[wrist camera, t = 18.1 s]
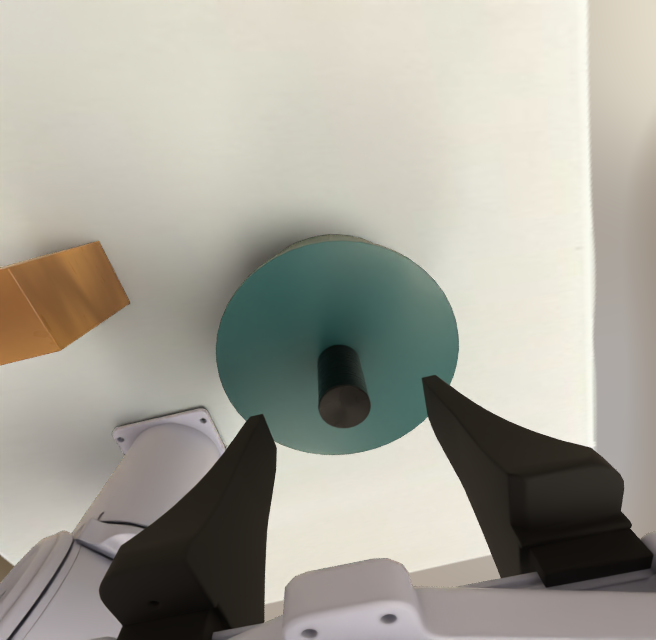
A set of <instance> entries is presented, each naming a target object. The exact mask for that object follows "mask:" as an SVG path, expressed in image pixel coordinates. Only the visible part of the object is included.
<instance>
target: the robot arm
mask: <svg viewBox="0 0 656 640" xmlns="http://www.w3.org/2000/svg"><path fill="white" fill-rule="evenodd" d="M422 384H423V391H424V397H425V403H426V410H427V415H428V418H429V420H430V423H431V426H432V428H433V430H434V433H435V435H436V437H437V439H438V441H439V443H440V445H441V446H442V448H443V450H444V452H445V454H446V456H447V457H448V459H449V461H450V463H451V465H452V467H453V468H454V470H455V472H456V474H457V476H458V477H459V479H460V481H461V483H462V485H463V487H464V489H465V492H466V494H467V496H468V499H469V501H470V503H471V506H472V508H473V510H474V513H475V515H476V517H477V520H478V522H479V525H480V527H481V529H482V532H483V534H484V537H485V539H486V542H487V544H488V547H489V549H490V552H491V554H492V557H493V559H494V562H495V564H496V566H497V569H498V572H499V574H500V577H501V578H500V579H495V580H490V581H484V582H479V583H474V584H468V585H464V586H458V587H423V586H412V584H411V580H410V576H409V572H408V571H407V570H406V568H405V567H404V566H403V564H401V563H399V562H396V561H394V560H391V559H388V558H382V559H369V560H364V561H359V562H354V563H349V564H344V565H339V566H334V567H329V568H323V569H318V570H313V571H308V572H305V573H303V574H300V575H298V576H295V577H294V578H293V579H292V580H291V581H290V582H289V583H288V585H287V586H286V587H285V596H284V610H283V615H281V616H279V617H277V618H275V619H272V620H270V621H267V622H265V623H264V596H265V560H266V541H267V527H268V518H269V512H270V506H271V499H272V493H273V487H274V480H275V473H276V454H277V448H276V445H275V443H274V440H273V438H272V435H271V433H270V430H269V427H268V425H267V422H266V420H265V417H264V415H263V414H259V415H255V416H250V417H249V419H248V420H247V421H246V423H245V424H244V425H243V427H242V428H241V430H240V431H239V433H238V434H237V435H236V437H235V438H234V440H233V441H232V442H231V444H230V445H229V446H228V448H227V449H226V448H225V446H224V444H223V442H222V440H221V438H220V436H219V434H218V432H217V430H216V427H215V425H214V423H213V421H212V419H211V417H210V415H209V413H208V411H207V410H206V409H204V408H199V409H194V410H190V411H185V412H181V413H177V414H172V415H168V416H164V417H159V418H155V419H151V420H146V421H142V422H137V423H133V424H129V425H124V426H120V427H116V428H115V429H114V430H113V431H112V436H113V438H114V439H115V441H116V442H117V444H118V445H119V447H120V449H121V450H122V452H123V453H124V455H125V456H124V457H123V459H122V460H121V462H120V463H119V465H118V466H117V468H116V469H115V471H114V472H113V473H112V475H111V476H110V478H109V479H108V481H107V482H106V484H105V485H104V487H103V488H102V490H101V491H100V493H99V494H98V495H97V497H96V498H95V500H94V501H93V503H92V504H91V506H90V507H89V509H88V510H87V512H86V513H85V515H84V516H83V517H82V519H81V520H80V522H79V523H78V525H77V526H76V528H75V529H74V531H73V532H72V534H71V533H69V532H67V531H60V532H58V533H57V534H55V535H51V536H48V537H46V538H43V539H42V540H41V541H39V542H38V543H37V544H36V545H35V546H34V547H33V548H32V549H31V550H30V551H29V552H28V553H27V554H26V555H25V556H24V557H23V558H22V559H21V560H20V561H19V562H18V563H17V564H16V566H15V567H14V568H13V569H12V570H11V571H10V572H9V573H8V575H7V576H6V577H5V578H4V579H3V580H2V581H1V583H0V640H656V531H654V532H651V533H648V534H646V535H644V536H643V537H642V538H641V540H640V539H639V538H638V537H637V536H636V535H635V533H634V532H633V531H632V530H631V529H630V528H631V526H632V524H631V522H630V521H629V519H628V518H627V517H626V516H625V515H624V514H623V513H622V512H621V506H622V499H623V493H624V481H623V479H622V477H621V475H620V474H619V473H618V472H617V471H616V470H615V469H614V468H613V467H612V466H611V465H610V464H609V463H608V462H607V461H606V460H605V459H604V458H603V457H601V456H600V455H599V454H598V453H597V452H596V451H594V450H593V449H592V448H590V447H586V446H582V445H578V444H574V443H570V442H566V441H562V440H558V439H555V438H552V437H549V436H546V435H543V434H540V433H537V432H534V431H531V430H529V429H526V428H524V427H521V426H519V425H516V424H514V423H512V422H509V421H507V420H505V419H503V418H501V417H499V416H497V415H495V414H493V413H491V412H489V411H487V410H486V409H484V408H482V407H481V406H479V405H477V404H476V403H474V402H473V401H471V400H470V399H468V398H467V397H465V396H464V395H462V394H461V393H459V392H458V391H457V390H455V389H454V388H452V387H451V386H450V385H448V384H447V383H446V382H445V381H443V380H442V379H441V378H439V377H438V376H437V375H432V376H428V377H423V378H422ZM202 418H204V419H206V420H202ZM121 437H122V438H121Z"/></svg>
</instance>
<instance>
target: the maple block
mask: <svg viewBox="0 0 656 640" xmlns="http://www.w3.org/2000/svg"><path fill="white" fill-rule="evenodd" d="M128 304H130V301H129V299H128V297H127V295H126V293H125V291H124V290H123V288H122V286H121V284H120V282H119V280H118V278H117V276H116V274H115V272H114V270H113V268H112V266H111V264H110V262H109V260H108V258H107V256H106V254H105V252H104V250H103V248H102V246H101V244H100V242H99V241H96V242H92V243H88V244H85V245H81V246H77V247H73V248H69V249H66V250H62V251H58V252H54V253H50V254H47V255H43V256H39V257H35V258H32V259H28V260H25V261H21V262H18V263H14V264H11V265H7V266H4V267H0V365H4V364H8V363H12V362H16V361H20V360H24V359H28V358H33V357H37V356H41V355H45V354H49V353H53V352H57V351H61V350H62V349H64V348H65V347H67V346H68V345H69V344H71V343H72V342H74V341H75V340H77V339H78V338H80V337H81V336H83V335H84V334H86V333H87V332H89V331H90V330H91V329H93V328H94V327H96V326H97V325H99V324H100V323H102V322H103V321H105V320H106V319H108V318H109V317H111V316H112V315H114V314H115V313H116V312H118V311H119V310H121V309H122V308H124V307H125V306H127V305H128Z"/></svg>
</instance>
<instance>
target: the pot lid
mask: <svg viewBox="0 0 656 640" xmlns="http://www.w3.org/2000/svg"><path fill="white" fill-rule="evenodd" d="M458 351H459V338H458V330H457V324H456V319H455V316H454V314H453V311H452V308H451V305H450V304H449V302H448V300H447V298H446V296H445V294H444V292H443V291H442V290H441V288H440V287H439V286H438V284H437V283H436V282H435V280H434V279H433V278H432V277H431V276H430V275H429V274H428V273H427V272H426V271H425V270H423V269H422V268H421V267H420V266H418V265H417V264H416V263H414V262H413V261H412V260H410V259H409V258H407V257H405V256H403V255H402V254H400V253H398V252H396V251H394V250H392V249H389V248H386V247H384V246H381V245H378V244H374V243H369V242H365V241H360V240H348V239H335V240H322V241H317V242H311V243H307V244H304V245H301V246H297V247H294V248H291V249H289V250H287V251H285V252H283V253H281V254H279V255H277V256H275V257H273V258H272V259H270V260H269V261H267V262H265V263H264V264H262V265H261V266H260V267H259V268H257V269H256V270H255V271H254V272H253V273H252V274H251V275H250V276H248V277H247V279H246V280H245V281H244V282H243V283H242V284H241V286H240V287H239V288H238V289H237V291H236V292H235V294H234V295H233V297H232V299H231V300H230V302H229V303H228V305H227V307H226V309H225V312H224V314H223V316H222V319H221V322H220V326H219V330H218V333H217V342H216V363H217V368H218V373H219V377H220V380H221V383H222V386H223V388H224V391H225V393H226V394H227V396H228V398H229V400H230V402H231V403H232V405H233V406H234V407H235V409H236V410H237V412H238V413H239V414H240V415H241V416H242V417H243V418H244V419H245V420H246V421H247V420H248V419H249V417H250V416H255V415H259V414H263V415H264V417H265V420H266V422H267V425H268V427H269V430H270V433H271V435H272V438H273V440H274V441H275V442H277V443H279V444H281V445H284V446H287V447H289V448H292V449H295V450H299V451H303V452H307V453H314V454H321V455H344V454H353V453H359V452H364V451H368V450H372V449H375V448H378V447H381V446H383V445H386V444H389V443H391V442H393V441H395V440H397V439H399V438H401V437H402V436H404V435H405V434H407V433H408V432H410V431H412V430H413V429H414V428H415V427H417V426H418V425H419V424H420V423H422V422H423V421H424V420H425V419H426V418H427V417H428V415H427V410H426V403H425V397H424V391H423V384H422V378H423V377H428V376H432V375H437V376H438V377H439V378H441V379H442V380H443V381H445V382H446V383H447V384H448V385H450V383H451V381H452V378H453V376H454V372H455V369H456V365H457V359H458Z"/></svg>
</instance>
